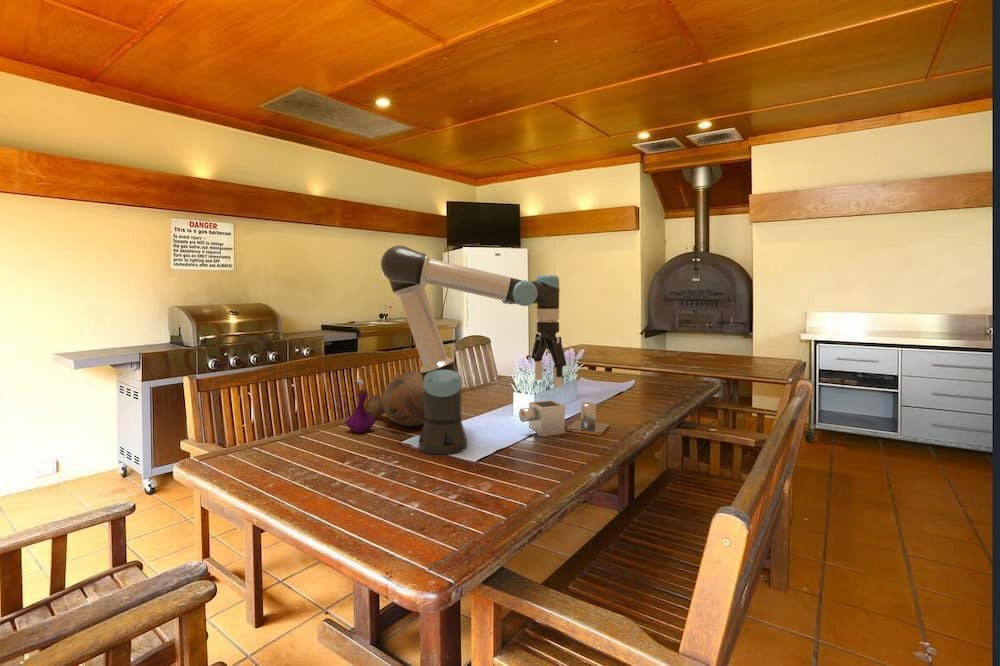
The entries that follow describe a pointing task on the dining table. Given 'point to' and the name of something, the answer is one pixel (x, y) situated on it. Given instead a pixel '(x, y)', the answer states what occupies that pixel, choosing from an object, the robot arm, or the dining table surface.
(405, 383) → the jug
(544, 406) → the collar
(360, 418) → the perfume bottle
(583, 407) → the duct stub
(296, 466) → the dining table surface
